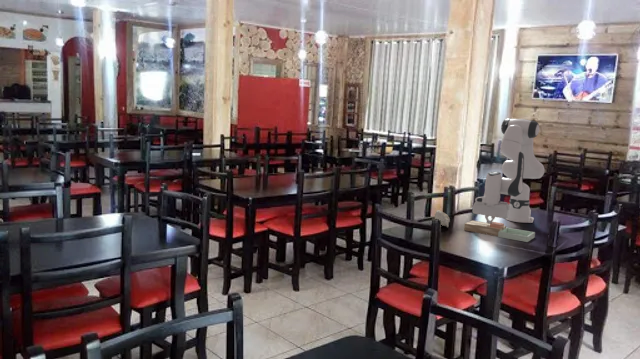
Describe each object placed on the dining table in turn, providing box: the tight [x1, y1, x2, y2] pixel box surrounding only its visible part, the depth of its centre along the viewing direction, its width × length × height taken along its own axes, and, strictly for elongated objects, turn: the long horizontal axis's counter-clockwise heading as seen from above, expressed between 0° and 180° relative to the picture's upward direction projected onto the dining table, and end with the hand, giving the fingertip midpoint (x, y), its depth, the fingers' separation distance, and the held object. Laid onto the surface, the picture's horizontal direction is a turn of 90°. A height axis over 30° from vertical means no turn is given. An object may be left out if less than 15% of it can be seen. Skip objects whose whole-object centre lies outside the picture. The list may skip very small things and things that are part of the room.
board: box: [463, 220, 507, 237], centre depth 317 cm, size 13×20×4 cm, turn 55°
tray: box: [497, 227, 536, 243], centre depth 307 cm, size 15×16×3 cm
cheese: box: [434, 209, 451, 228], centre depth 320 cm, size 15×7×15 cm
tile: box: [490, 221, 505, 228], centre depth 313 cm, size 6×6×2 cm
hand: (489, 223), depth 316 cm, fingers closed
